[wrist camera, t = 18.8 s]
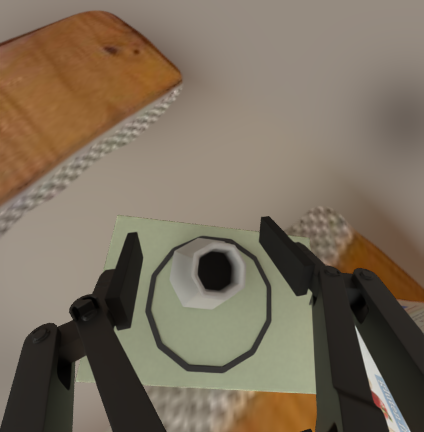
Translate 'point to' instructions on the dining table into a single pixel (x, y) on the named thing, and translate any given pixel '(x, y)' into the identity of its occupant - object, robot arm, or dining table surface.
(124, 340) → the drawing board
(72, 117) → the dining table surface
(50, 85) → the dining table surface
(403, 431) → the cracker box
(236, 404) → the dining table surface
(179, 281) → the flask
